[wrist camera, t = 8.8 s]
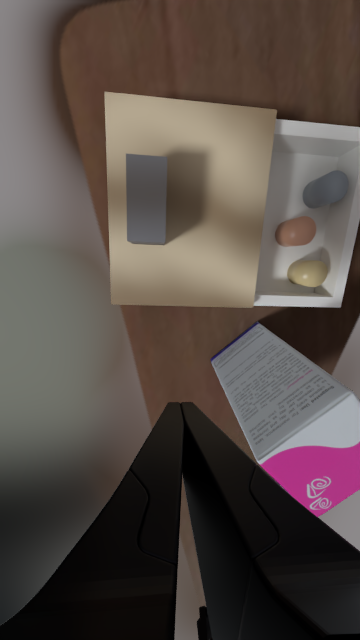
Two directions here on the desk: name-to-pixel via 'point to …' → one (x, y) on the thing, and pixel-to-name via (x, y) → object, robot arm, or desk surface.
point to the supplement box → (293, 417)
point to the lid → (185, 199)
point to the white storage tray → (309, 215)
